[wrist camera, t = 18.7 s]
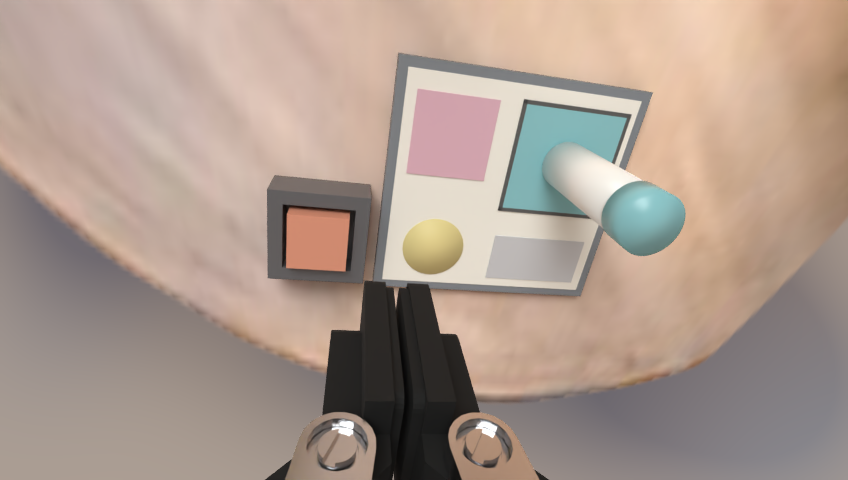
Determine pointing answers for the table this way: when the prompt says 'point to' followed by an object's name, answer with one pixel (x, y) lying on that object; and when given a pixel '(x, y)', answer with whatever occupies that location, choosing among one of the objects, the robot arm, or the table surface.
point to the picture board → (492, 176)
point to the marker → (615, 199)
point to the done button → (317, 238)
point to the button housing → (323, 196)
